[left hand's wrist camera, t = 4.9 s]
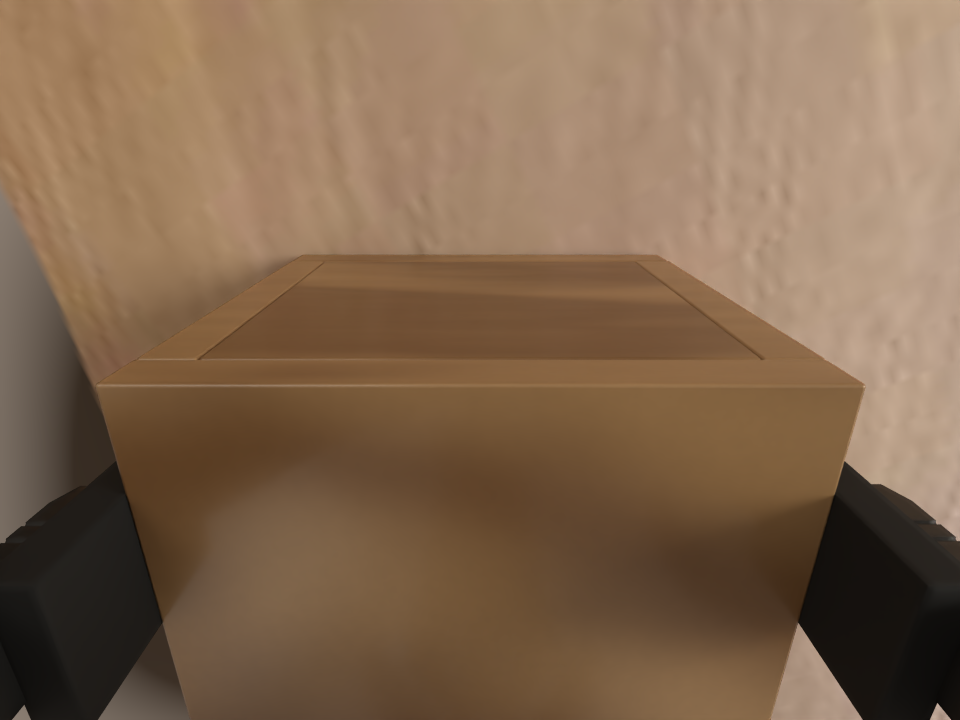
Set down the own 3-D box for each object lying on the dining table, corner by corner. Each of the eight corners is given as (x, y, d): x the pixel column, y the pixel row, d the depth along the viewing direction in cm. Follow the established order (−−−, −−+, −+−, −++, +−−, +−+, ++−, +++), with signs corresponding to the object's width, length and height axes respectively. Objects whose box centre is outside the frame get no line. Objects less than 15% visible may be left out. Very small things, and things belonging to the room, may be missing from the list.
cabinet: (611, 650, 23) (697, 981, 14) (349, 650, 23) (263, 981, 14) (658, 254, 17) (869, 384, 8) (301, 254, 17) (92, 384, 8)
